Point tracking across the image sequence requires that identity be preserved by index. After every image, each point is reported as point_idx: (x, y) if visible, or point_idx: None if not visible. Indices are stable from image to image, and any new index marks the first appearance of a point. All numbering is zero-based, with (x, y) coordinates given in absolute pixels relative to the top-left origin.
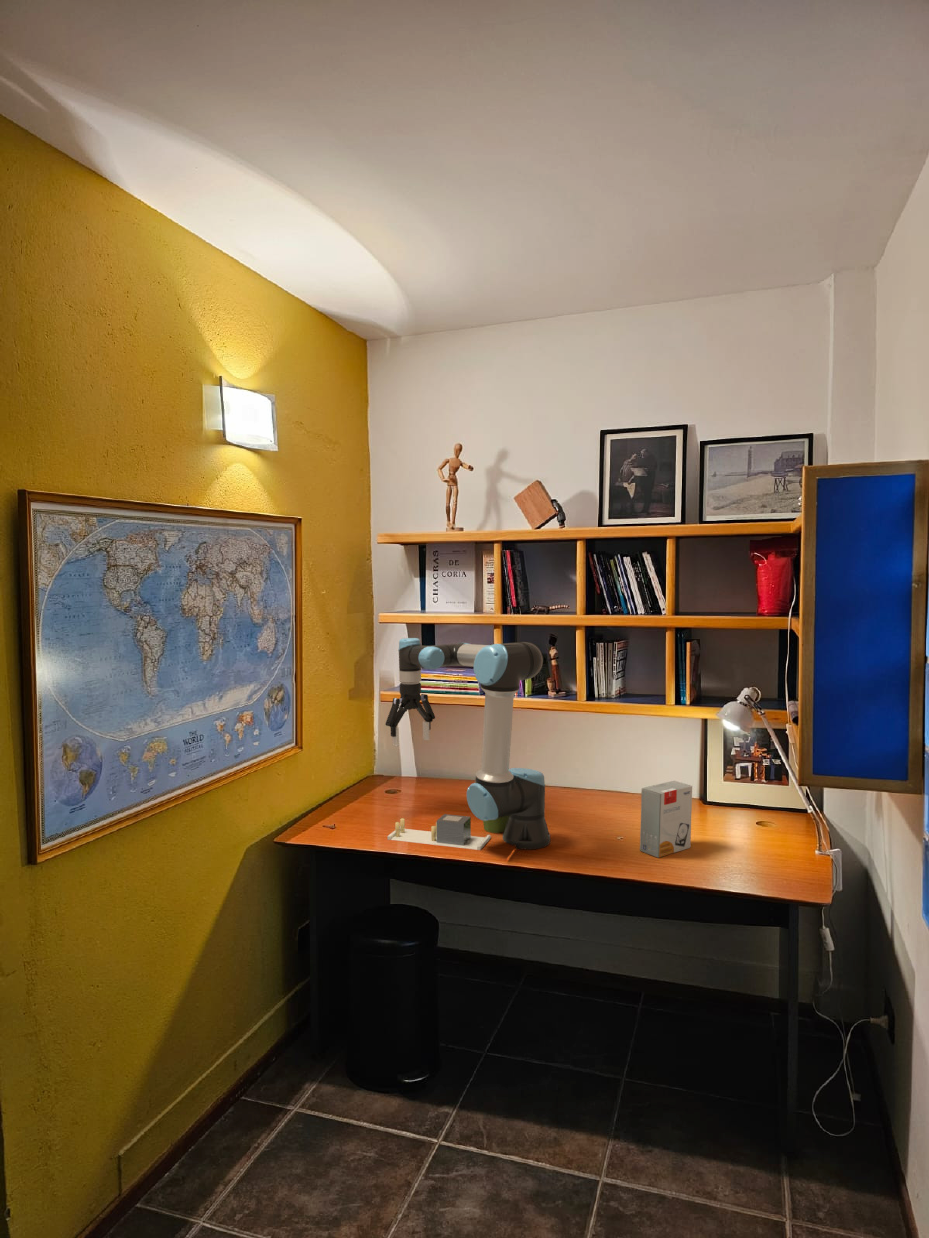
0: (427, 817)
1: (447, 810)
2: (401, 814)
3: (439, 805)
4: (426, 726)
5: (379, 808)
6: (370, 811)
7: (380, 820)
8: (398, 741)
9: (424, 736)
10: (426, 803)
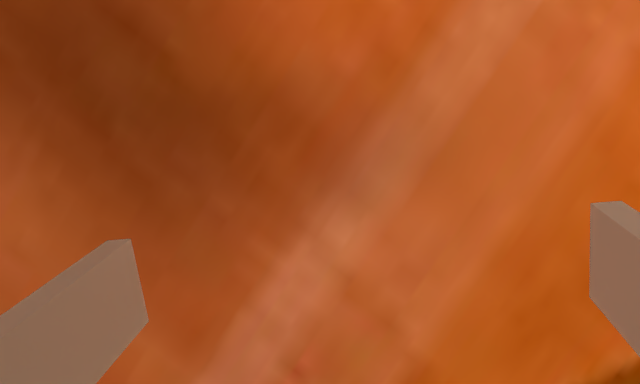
0: (328, 63)
1: (198, 94)
2: (400, 174)
3: (191, 178)
4: (30, 350)
5: (431, 302)
6: (487, 292)
7: (527, 159)
8: (625, 222)
9: (126, 314)
10: (225, 236)
